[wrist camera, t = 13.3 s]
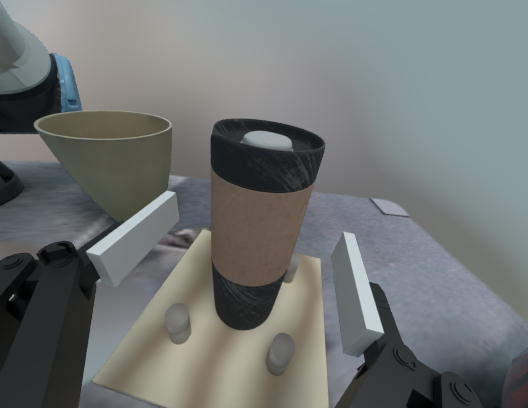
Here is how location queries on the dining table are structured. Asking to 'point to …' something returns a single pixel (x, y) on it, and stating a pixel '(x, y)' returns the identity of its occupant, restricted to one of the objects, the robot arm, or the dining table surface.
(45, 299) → the robot arm
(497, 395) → the dining table surface
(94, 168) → the plant pot
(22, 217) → the dining table surface
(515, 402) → the amphora vase
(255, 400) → the post base
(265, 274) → the travel mug
